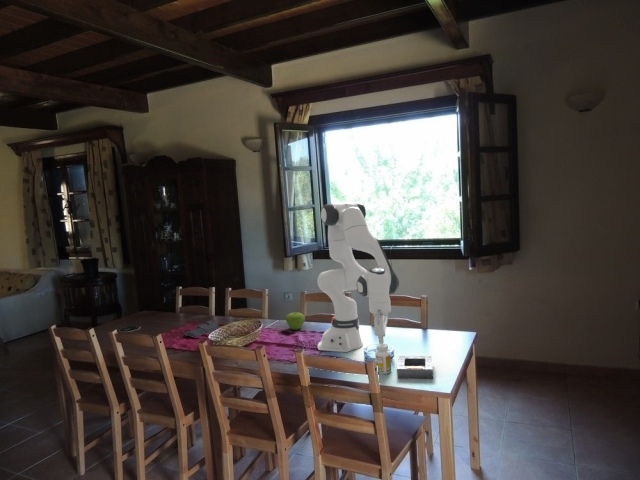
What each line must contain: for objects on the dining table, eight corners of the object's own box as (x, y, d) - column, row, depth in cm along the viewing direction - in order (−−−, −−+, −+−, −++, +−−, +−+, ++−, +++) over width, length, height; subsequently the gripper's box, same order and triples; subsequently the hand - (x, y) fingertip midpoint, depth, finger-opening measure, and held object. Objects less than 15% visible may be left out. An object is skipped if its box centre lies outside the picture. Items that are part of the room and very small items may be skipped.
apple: (308, 327, 258) (307, 310, 257) (298, 332, 249) (297, 315, 248) (293, 325, 264) (292, 309, 263) (283, 330, 255) (281, 313, 254)
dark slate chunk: (179, 338, 258) (178, 330, 258) (206, 326, 277) (205, 319, 277) (198, 340, 251) (197, 332, 250) (224, 328, 270) (223, 321, 269)
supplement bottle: (389, 367, 190) (388, 342, 189) (392, 373, 184) (391, 347, 183) (375, 369, 190) (373, 343, 189) (377, 374, 184) (376, 348, 183)
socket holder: (397, 378, 179) (396, 368, 178) (399, 364, 192) (398, 355, 192) (433, 378, 176) (432, 368, 175) (432, 365, 189) (431, 355, 189)
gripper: (385, 313, 173) (388, 348, 174) (389, 301, 193) (391, 332, 194) (369, 314, 175) (372, 348, 176) (374, 301, 194) (377, 332, 195)
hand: (382, 339), depth 185 cm, fingers open, 8 cm apart
